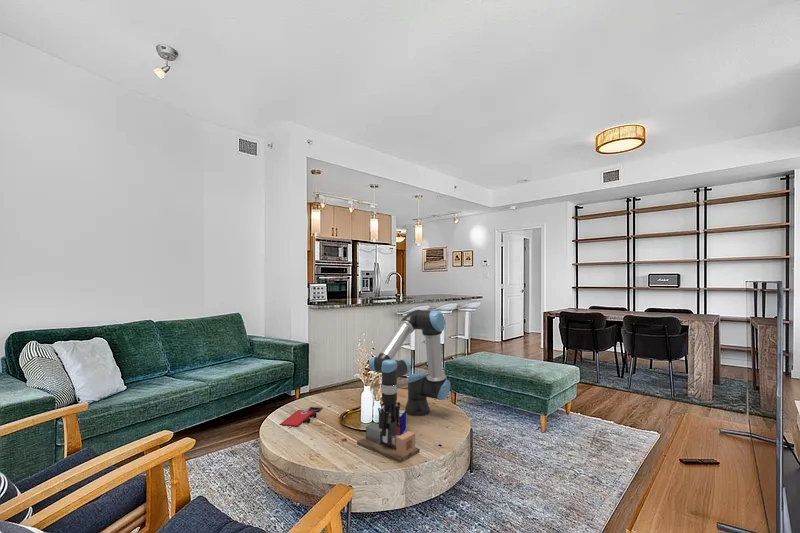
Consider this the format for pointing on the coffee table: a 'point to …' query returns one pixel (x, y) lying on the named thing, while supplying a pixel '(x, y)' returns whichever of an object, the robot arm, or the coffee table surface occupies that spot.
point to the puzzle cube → (401, 422)
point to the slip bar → (391, 431)
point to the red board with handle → (301, 417)
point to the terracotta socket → (405, 444)
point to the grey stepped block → (374, 434)
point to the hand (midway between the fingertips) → (389, 440)
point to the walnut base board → (385, 450)
